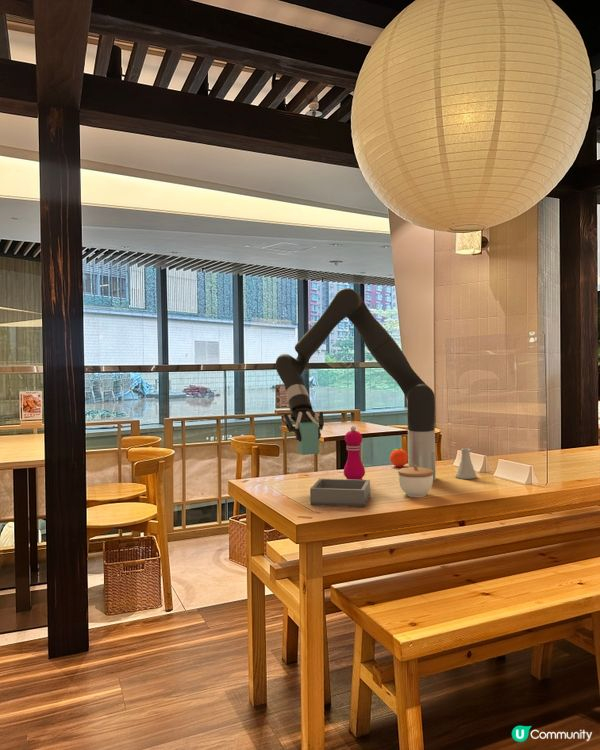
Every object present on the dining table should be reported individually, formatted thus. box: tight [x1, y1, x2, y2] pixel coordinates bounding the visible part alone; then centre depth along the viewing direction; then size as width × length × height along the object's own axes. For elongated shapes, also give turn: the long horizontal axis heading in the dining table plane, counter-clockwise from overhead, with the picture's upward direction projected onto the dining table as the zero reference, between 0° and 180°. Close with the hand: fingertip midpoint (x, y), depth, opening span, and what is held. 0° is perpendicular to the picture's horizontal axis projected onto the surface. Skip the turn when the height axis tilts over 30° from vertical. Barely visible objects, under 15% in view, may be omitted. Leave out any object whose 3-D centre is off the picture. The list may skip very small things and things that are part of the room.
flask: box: [455, 448, 477, 480], centre depth 210 cm, size 7×7×10 cm
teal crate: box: [297, 421, 320, 456], centre depth 197 cm, size 6×6×10 cm
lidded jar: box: [397, 465, 434, 498], centre depth 186 cm, size 11×11×9 cm
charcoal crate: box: [309, 478, 371, 508], centre depth 182 cm, size 16×14×5 cm
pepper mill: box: [343, 425, 366, 480], centre depth 202 cm, size 7×7×20 cm
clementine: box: [387, 448, 408, 468], centre depth 232 cm, size 8×7×7 cm
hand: (309, 439), depth 195 cm, fingers closed on teal crate, 5 cm apart
